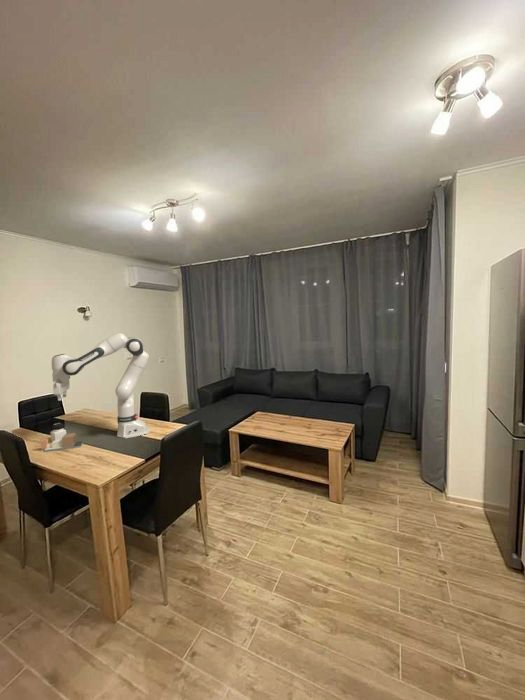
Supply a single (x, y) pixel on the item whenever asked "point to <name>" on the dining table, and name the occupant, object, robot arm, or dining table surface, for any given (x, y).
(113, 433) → the dining table surface
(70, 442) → the tunnel board
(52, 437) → the medicine bottle
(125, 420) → the robot arm
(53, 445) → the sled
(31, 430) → the dining table surface
